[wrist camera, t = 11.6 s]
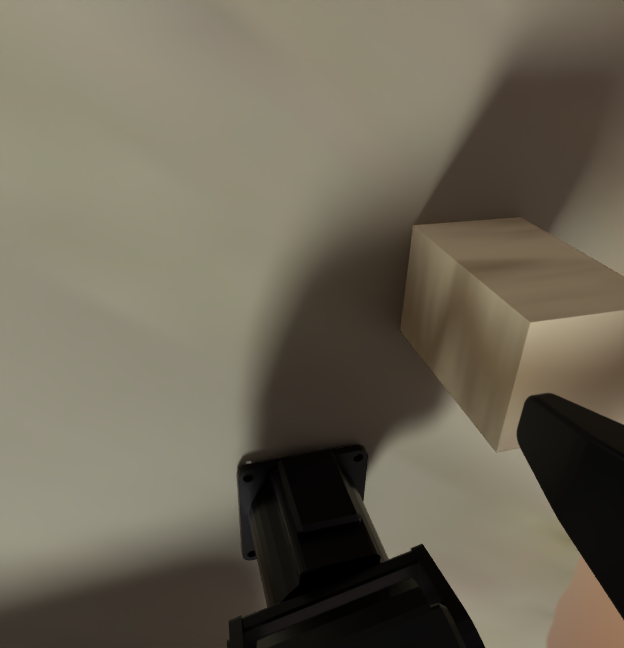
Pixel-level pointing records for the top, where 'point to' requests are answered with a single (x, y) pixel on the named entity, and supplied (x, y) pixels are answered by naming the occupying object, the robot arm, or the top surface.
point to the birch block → (513, 321)
